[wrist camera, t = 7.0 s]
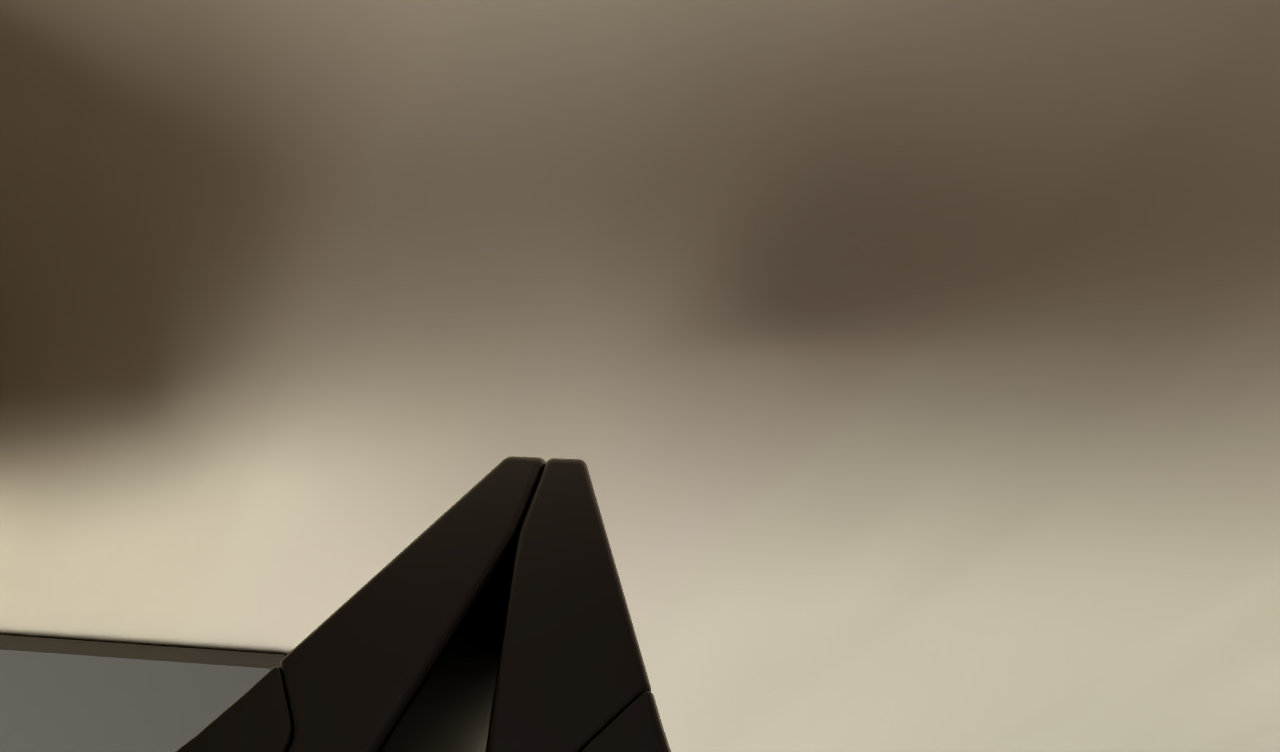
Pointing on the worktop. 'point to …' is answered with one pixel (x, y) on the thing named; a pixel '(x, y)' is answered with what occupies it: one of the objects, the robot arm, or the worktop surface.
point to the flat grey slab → (115, 693)
